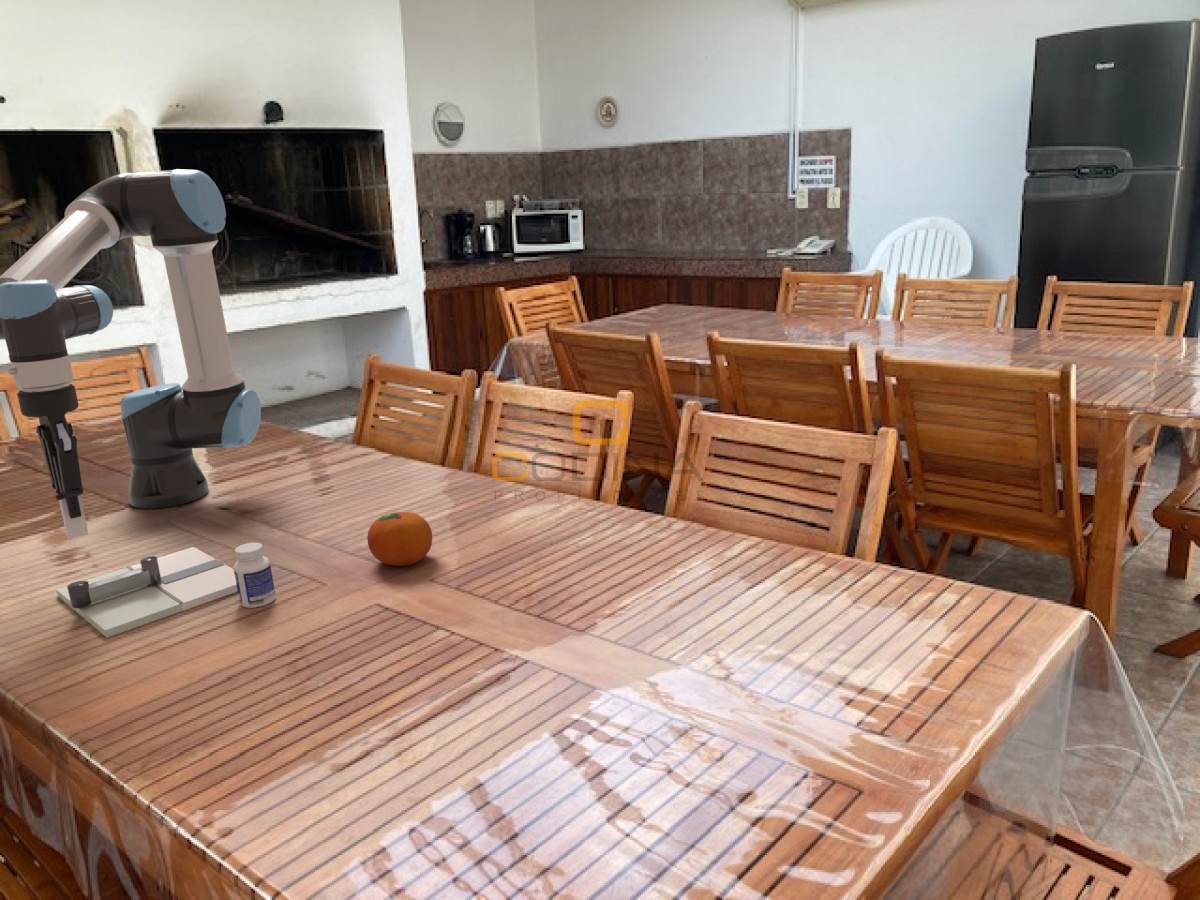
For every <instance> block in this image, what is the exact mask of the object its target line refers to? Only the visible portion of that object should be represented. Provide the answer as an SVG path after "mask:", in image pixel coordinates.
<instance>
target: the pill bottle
mask: <svg viewBox="0 0 1200 900" xmlns="http://www.w3.org/2000/svg"><path fill="white" fill-rule="evenodd" d="M264 553H265V552H264V547H263V544H262V543H260V542H248V543H243V544H241V545H239V546H237V547H236V548H235V549H234V554H235V559H236V562H234V564H233V569H234V574H235V580H236V585H237V590H238V591H237V596H238V601H239V605H241V606H242V607H244V608H248V609H249V608H252V609H254V608H259V607H264V606H266V605H268V604H271V603H272V602H273V601H274V600H275V599H276V596H277V595H276V588H275V582H274V579H273V571H272V565H271V562H270V559H269V558H268V557H267V556H264V555H265V554H264Z"/></svg>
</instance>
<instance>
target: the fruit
mask: <svg viewBox="0 0 1200 900" xmlns="http://www.w3.org/2000/svg"><path fill="white" fill-rule="evenodd" d="M366 539H367V546H368V548H369V551H370V553H371V554H372V555H373V557H374V558H376V560H378V561H379V562H380V563H383V564H385V565H389V566H396V567H398V566H399V567H400V566H410V565H413V564H416V563H418V562H419V561H421V560H422V559H424V558H425V557H426V555H428V553H429V551H431V547H432V545H433V531H432V528H431V526H430V524H429V522H428V521H427V520H426V519H425V518H424V517H422V515H421V516H420V515H419V514H418V513H416V512H409V511H395V512H392V513H389V514H385V515H382V516H380V517H378V518H377V519H376V520H375V521H373V523H371V525H370V527H369V529H368V531H367V537H366Z"/></svg>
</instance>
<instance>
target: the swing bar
mask: <svg viewBox="0 0 1200 900" xmlns="http://www.w3.org/2000/svg"><path fill="white" fill-rule="evenodd" d="M157 558H158V557H157V556H156V555H155V556H153V555H152V556H146V557H143V558H142V559H140V563H141V568H138V569H135V570H132V571H128V572H125V573H122V574H119V575H116V576H112V577H109V578H106V579H103V580H100V581H97V582H93V583H90V584H88V581H85V580H78V581H74V582H72V583H69V584H68V585H66V586H67V588H68V593H69V597H70V601H71V606H72V607H73V608H82V607H86V606H88V605H90V604H92V603H95V602H98V601H101V600H104V599H107V598H110V597H113V596H116V595H119V594H122V593H125V592H128V591H131V590H134V589H137V588H140V587H143V586H153V585H157V584H159V583H161V581H162V580H161V575H160V571H159V566H158V561H157Z"/></svg>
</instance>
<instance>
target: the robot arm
mask: <svg viewBox="0 0 1200 900" xmlns="http://www.w3.org/2000/svg"><path fill="white" fill-rule="evenodd" d="M226 217H227V211H226V206H225V202H224V198H223V196H222V193H221V191H220V190H219V188H218V186H217V185H216V182H214V181H213V179H212V178H211V177H210V176H209V175H208V174H207V173H205V172H204V171H201V170H198V169H180V168H176V169H169V170H168V169H167V170H155V171H143V172H142V171H139V172H132V171H131V172H124V173H119V174H116V175H115V174H114V175H112V176H111V177H108V178H105V179H103V180H102V181H100V182H98V183H96V184H95V185H93V186H91V187H89V188H88V189H87V190H85V191H84V192H82V193H81V194H80V195H79V196H77V197H76V198H75V199H74V200H72V202H71V203H69V204H68V205H67V207H66V208H65V211H64V217H63V218H62V219H61V220H60V221H58V223H57V224H55V226H54V227H52V228H51V230H49V231H48V232H47V233H46V234H45V235H44V236H43V237H41V239H40V240H38V241H37V242H36V243H35V244H34V245H33V246H32V247H30V248H29V250H28V251H26V252H25V253H24V254H23V255H22V256H21V257H20V258H18V259H17V261H15V262H14V263H13V264H12V265H11V266H10V267H9V268H7V270H6V271H4V273H2V274H1V275H0V340H5V343H6V349H7V351H8V359H9V362H10V365H11V366H12V367H10V368H9V369H7V374H8V375H9V376H13V380H14V385H15V387H16V388H18V389H20V390H19V391H18V393H17V394H16V395H17V396H16V397H17V400H18V403H19V404H18V405H19V408H20V413H21V414H22V416H23V417H28V418H38V421H39V424H40V425H36V430H35V431H36V434H37V435H38V438H39V441H40V444H41V448H42V452H43V456H44V459H45V463H46V466H47V470H48V474H49V478H50V480H51V487H52V489H53V490H55V493H56V495H55V499H56V501H58V503H59V506H60V513H61V516H62V521H63V524H64V530H65V534H66V538H68V539H69V540H71V539H76V538H78V537H79V538H80V537H83V536H87V535H89V530H88V524H87V521H86V520H87V519H86V517H85V511H84V506H83V502H82V497H81V495H82V494H84V488H83V483H82V482H83V481H82V475H81V470H80V463H79V461H80V460H79V457H78V456H79V455H78V446H77V445H78V444H77V443H78V440H77V439H78V438H77V437H76V436H75V435H74V430H73V426H72V424H71V422H69V423H68V421H67V418H66V414H67V413H70V412H73V411H75V410H77V409H78V407H79V401H78V395H77V391H76V387H75V385H74V384H72V381H74V375H73V369H72V364H71V359H70V354H69V353H68V349H67V344H66V340H68V339H69V340H70V339H74V338H78V337H82V336H86V335H89V336H90V335H94V334H95V333H97V332H100V331H102V330H104V329H105V328H107V327H108V326H109V325H110V323H111V322H112V321H113V316H114V307H113V303H112V300H111V298H109V296H108V295H107V293H106V292H104V291H103V289H101V288H99V287H98V286H95V285H90V284H89V285H88V284H87V285H85V284H83V285H82V284H81V285H73V286H72V285H71V286H70V287H65V286H66V285H67V284H69V282H70V281H71V280H72V279H73V278H74V277H75V276H76V275H77V274H78V273H79V272H80V271H81V270H82V269H83V268H84V267H85V266H86V265H87V264H88V263H89V262H90V260H92V259H93V258H94V257H95V256H96V255H97V254H98V252H99V251H101V250H103V249H108V248H109V249H110V248H111V247H113V246H114V245H115V244H116V243H118V241H121V240H123V239H127V238H133V237H150V239H151V245H152V248H154V249H155V250H156V251H157V252H158V253H160V254H161V255H162V256H163V260H164V265H165V269H166V274H167V280H168V284H169V290H170V294H171V299H172V304H173V310H174V314H175V319H176V323H177V324H176V325H177V329H178V334H179V338H180V344H181V348H182V353H183V358H184V363H185V366H186V367H185V368H186V372H187V373H186V374H187V379H186V380H185V382H183V384H182V386H181V385H180V384H179V383H176V382H171V383H164V384H163V383H162V384H159V385H154V386H150V387H145V388H143V389H138V390H136V391H132V392H130V393H128V394H126V395H124V396H123V397H122V398H121V400H120V404H119V405H120V413H121V418H120V419H121V420H122V423H123V429H124V433H125V438H126V444H127V447H128V452H129V457H130V462H131V473H130V479H129V486H128V493H127V494H128V499H129V504H130V506H132V507H134V508H137V509H144V510H145V509H147V510H148V509H149V510H150V509H151V510H152V509H163V508H170V507H176V506H180V505H183V504H188V503H191V502H194V501H196V500H198V499H201V498H202V497H204V496H206V494H208V493H209V490H210V489H209V484H208V479H207V477H206V476H205V474H204V472H203V471H202V469H201V467H200V466H199V464H198V462H197V460H196V459H195V456H194V453H193V452H194V451H193V449H215V448H216V449H219V448H222V449H223V448H224V449H230V448H238V447H245V446H247V445H249V444H250V443H251V442H252V441H253V440H254V439H255V437H256V435H257V433H258V430H259V427H260V423H261V416H262V408H261V405H262V404H261V400H260V397H259V395H258V393H257V392H256V390H253V389H252V388H249V387H248V388H246V384H245V378H244V377H243V376H242V375H240V374H239V373H238V372H236V371H235V369H234V363H233V358H232V353H231V348H230V342H229V341H230V340H229V336H228V331H227V326H226V322H225V321H226V320H225V317H224V316H225V315H224V309H223V306H222V299H221V294H220V290H219V289H220V288H219V283H218V277H217V272H216V268H215V267H216V266H215V263H214V258H213V249H214V248H215V246H216V245H217V243H219V237H218V233H221V232H222V231H223V230H224V228H225V225H226Z"/></svg>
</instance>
